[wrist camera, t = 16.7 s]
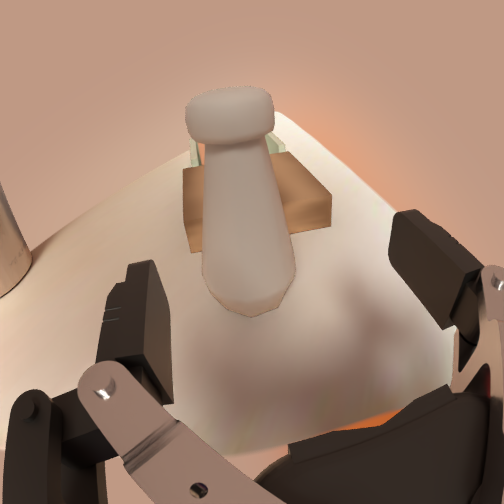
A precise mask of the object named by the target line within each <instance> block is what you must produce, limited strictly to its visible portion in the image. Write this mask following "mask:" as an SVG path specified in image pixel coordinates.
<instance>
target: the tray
mask: <svg viewBox="0 0 504 504" xmlns="http://www.w3.org/2000/svg"><path fill="white" fill-rule="evenodd" d="M265 139H266V142H267V146H268V150H269V154H274V153H281V152H286V150H285V144H284V143H283V142H282V141H281V140H280V139H279V138H278V137H277V136H275V135H274V134H273V133H272V132H270V133H268V134H266V135H265ZM189 141H190V156H191V164H192V167H196V166H201V159H200V153H199V147H198V142H195V141H194V140H193V139H189Z"/></svg>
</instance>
